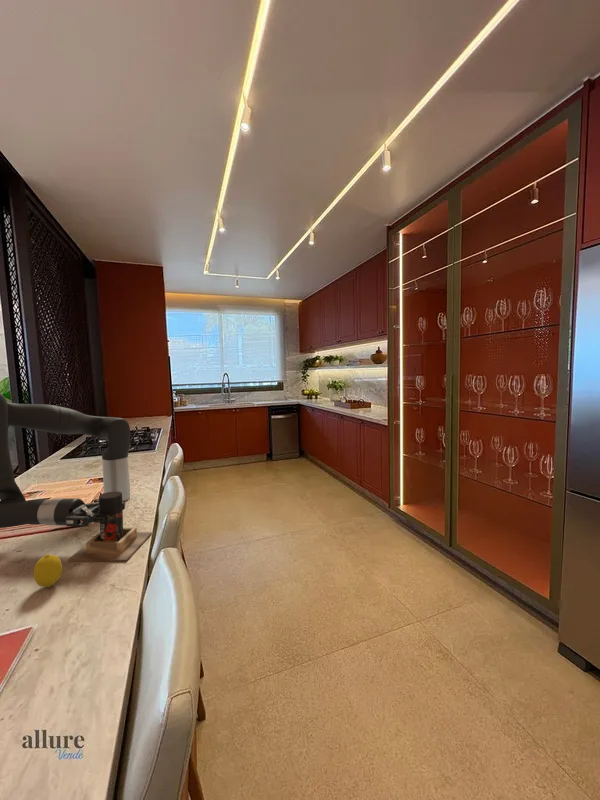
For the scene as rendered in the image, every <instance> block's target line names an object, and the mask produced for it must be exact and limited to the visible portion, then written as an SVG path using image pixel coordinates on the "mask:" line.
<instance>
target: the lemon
mask: <svg viewBox="0 0 600 800" xmlns="http://www.w3.org/2000/svg"><path fill="white" fill-rule="evenodd" d="M62 573H63V564H62V561H61V559H60V558H59V556H57V555H54V554H49V553H48V554H45V555H44V556H42V557H41V558H39V559H38V561H37V562H36V564H35V565H34V569H33V579H34V581H35V583H36V584H37V585H38V586H40V587H46V588H50V587H52V585H54V584H55V583H57V582H58V581H59V580H60V578H61V577H62Z"/></svg>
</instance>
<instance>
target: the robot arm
mask: <svg viewBox="0 0 600 800" xmlns="http://www.w3.org/2000/svg"><path fill="white" fill-rule="evenodd" d="M8 426H11V427H17V428H18V427H19V428H23V429H27V430H35V431H39V432H46V433H51V434H59V435H86V436H90V437H94V438H100V439H101V440H104V441H105V440H106V441H107V448H106V449H104V450H103V451H102V452H101V462H102V465H101V466H102V483H103V494H104V493H107V492H121V493H122V508H123V511H124V510H126V503H125V502H126V501H127V500H129V499H130V498H131V485H130V484H131V483H130V465H129V451H130V449H131V427H130V424H129V421H127V420H126V419H125V418H122V417H114V416H95V415H89V414H85V413H83V412H80V411H78V410H75V409H72V408H68V407H65V406H64V407H63V406H59V405H52V404H45V403H42V404H41V403H39V404H38V403H15V402H10V401H7V399H6V396H5V395H4V394H2V393H1V392H0V529H3V528H11V527H17V526H18V527H19V526H24V525H43V526H66V527H76V528H77V527H82V528H83V527H88V526H90V525H89V524H91V525H93V524H95V523H100V522H108V521H109V520H110V519H109V514H100V513H99V498H95V499H93V502H87V503H85V502H84V501H83V499H81V498H48V499H47V498H46V499H45V498H43V499H40V498H39V499H38V498H37V499H30V500H26V498H25V495H24V493H22V491H21V489H20V487H19V486H18V484H17V482H16V478H15V473H14V468H13V463H12V459H11V454H10V447H9V428H8Z"/></svg>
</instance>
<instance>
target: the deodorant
mask: <svg viewBox="0 0 600 800" xmlns="http://www.w3.org/2000/svg"><path fill="white" fill-rule="evenodd" d="M98 499H99V513H100V514H109V519H110V520H109V521H108V522H99V532H100V541H120V540H121V539H122V538H123V528H124V516H123V515H124V514H123V513H124V512H123V511H124V510H123V508H122V502H123V501H122V493H121V492H107V493H104V492H103V493H101V494H99V496H98Z"/></svg>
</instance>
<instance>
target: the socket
mask: <svg viewBox="0 0 600 800" xmlns="http://www.w3.org/2000/svg"><path fill="white" fill-rule="evenodd" d="M152 535H153V533H152V532H151V531H149V532H146V531H145V532H144V531H141V532H140V531H139V532H138V529H137V527H123V538H122V539H121V540H120V541H100V531H99V532H97V534H96V535H94V536H92V538H90V540H88V541H87V542H86V543H85V545H83V547H81V548H80V549H78V550H77V551H76V552H74V554H73V555H72V556H70V557H69V558H67V562H68V563H69V562H71V563H73V562H74V563H76V562H77V563H79V562H81V563H82V562H83V563H85V562H86V563H88V562H89V563H90V562H91V563H92V562H93V563H94V562H95V563H105V562H107V563H110V562H111V563H117V562H118V563H124V562H125V563H127V562H128V560H130V559H131V557H132V556H134V554H135V553H136V552H137V551H138V550H139V549H140V548H141V547H142V545H144V543H145V542H146V541H148V539H150V537H151V536H152Z"/></svg>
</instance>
